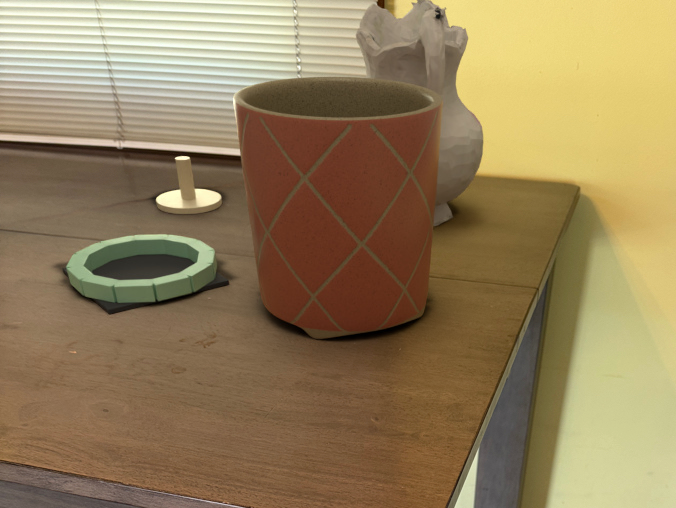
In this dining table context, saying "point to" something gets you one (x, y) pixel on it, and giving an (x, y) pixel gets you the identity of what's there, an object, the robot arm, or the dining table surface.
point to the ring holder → (188, 193)
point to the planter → (341, 198)
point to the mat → (146, 275)
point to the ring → (143, 288)
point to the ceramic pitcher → (428, 84)
